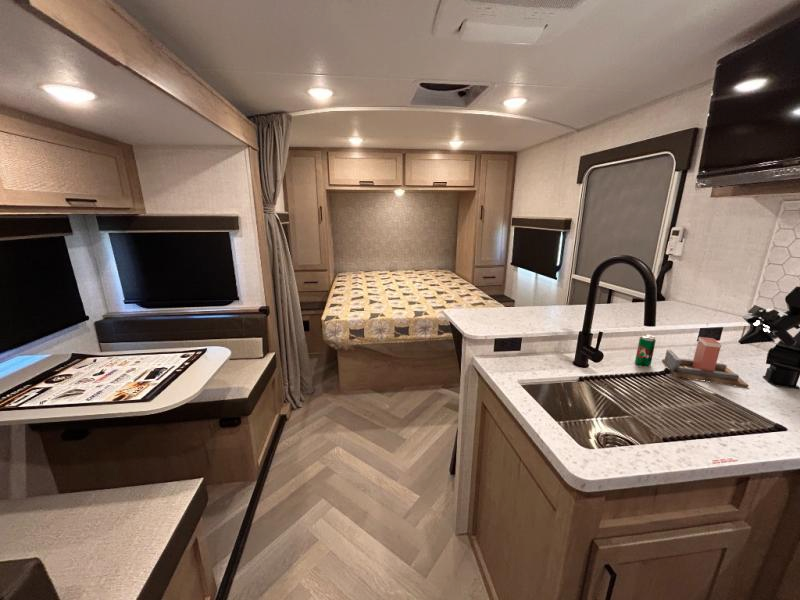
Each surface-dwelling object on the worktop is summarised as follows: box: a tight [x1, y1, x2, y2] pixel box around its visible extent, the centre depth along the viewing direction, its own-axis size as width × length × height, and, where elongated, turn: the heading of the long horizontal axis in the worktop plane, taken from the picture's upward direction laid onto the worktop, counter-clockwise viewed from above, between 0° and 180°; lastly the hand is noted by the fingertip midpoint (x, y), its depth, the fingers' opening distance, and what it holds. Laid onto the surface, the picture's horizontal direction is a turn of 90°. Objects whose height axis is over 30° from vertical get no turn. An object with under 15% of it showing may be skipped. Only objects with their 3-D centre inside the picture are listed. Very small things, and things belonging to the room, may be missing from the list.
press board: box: [661, 358, 749, 388], centre depth 118 cm, size 20×14×1 cm
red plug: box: [692, 336, 722, 371], centre depth 116 cm, size 4×6×12 cm
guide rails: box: [664, 349, 740, 381], centre depth 117 cm, size 18×10×5 cm, turn 67°
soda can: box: [634, 334, 657, 367], centre depth 124 cm, size 5×5×12 cm
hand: (739, 342), depth 111 cm, fingers closed
